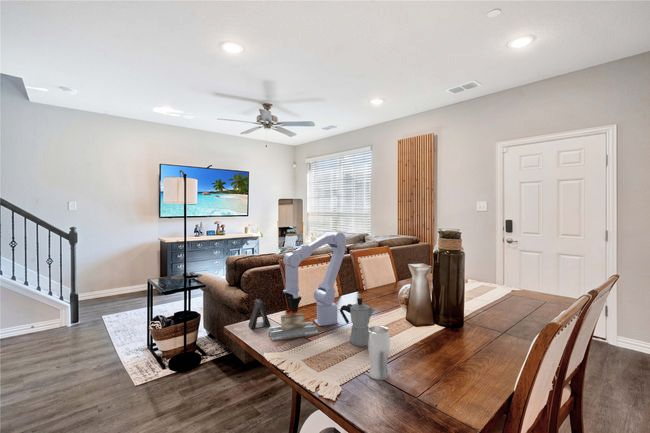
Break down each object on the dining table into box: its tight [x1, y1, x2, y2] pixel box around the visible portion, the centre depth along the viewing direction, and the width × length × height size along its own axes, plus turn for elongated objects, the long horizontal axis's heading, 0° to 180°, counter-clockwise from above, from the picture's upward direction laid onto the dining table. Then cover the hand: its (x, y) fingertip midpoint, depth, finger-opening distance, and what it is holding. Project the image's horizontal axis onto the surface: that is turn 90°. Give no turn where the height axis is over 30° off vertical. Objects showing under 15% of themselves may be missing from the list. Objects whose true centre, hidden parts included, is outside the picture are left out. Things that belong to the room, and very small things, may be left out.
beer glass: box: [367, 325, 390, 381], centre depth 98 cm, size 7×7×15 cm
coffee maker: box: [339, 297, 376, 348], centre depth 122 cm, size 15×9×18 cm, turn 71°
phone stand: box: [248, 298, 272, 330], centre depth 141 cm, size 9×6×12 cm, turn 116°
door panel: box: [280, 312, 306, 330], centre depth 132 cm, size 10×2×7 cm, turn 108°
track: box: [268, 321, 319, 342], centre depth 132 cm, size 20×10×3 cm, turn 109°
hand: (292, 309), depth 135 cm, fingers open, 7 cm apart
